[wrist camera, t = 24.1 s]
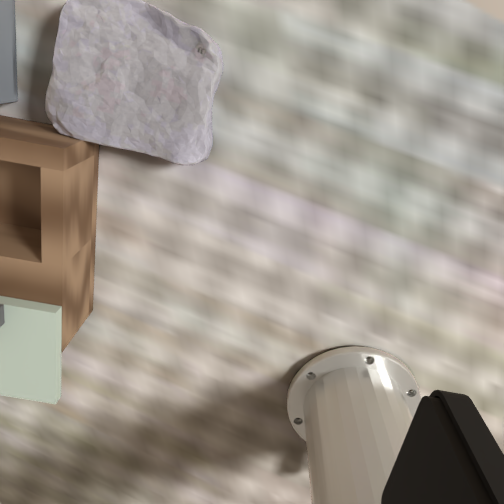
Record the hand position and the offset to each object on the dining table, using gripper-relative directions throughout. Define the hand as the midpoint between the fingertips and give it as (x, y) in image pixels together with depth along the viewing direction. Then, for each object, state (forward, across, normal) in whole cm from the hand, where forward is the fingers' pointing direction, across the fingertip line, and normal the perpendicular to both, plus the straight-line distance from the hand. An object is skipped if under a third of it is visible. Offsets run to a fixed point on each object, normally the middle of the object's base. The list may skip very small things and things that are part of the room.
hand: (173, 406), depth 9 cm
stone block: (+29, +8, -4) cm, 30 cm away
